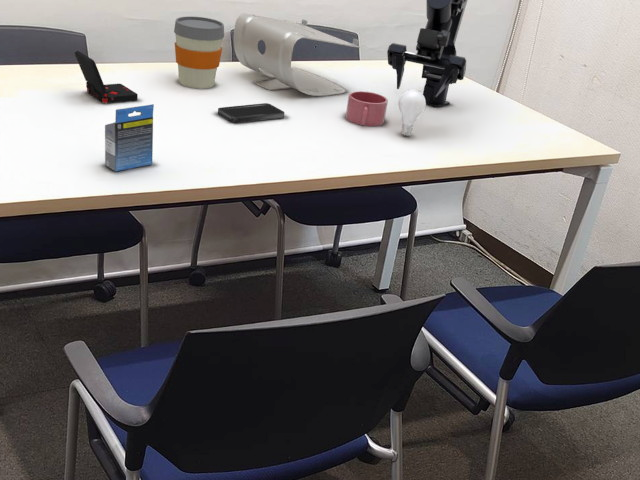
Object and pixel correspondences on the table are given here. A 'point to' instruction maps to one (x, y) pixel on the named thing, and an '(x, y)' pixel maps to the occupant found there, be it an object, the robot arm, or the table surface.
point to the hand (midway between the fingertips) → (416, 92)
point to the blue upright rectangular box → (129, 139)
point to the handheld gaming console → (96, 86)
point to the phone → (250, 112)
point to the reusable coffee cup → (198, 50)
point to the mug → (366, 108)
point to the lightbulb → (411, 109)
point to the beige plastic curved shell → (281, 53)
